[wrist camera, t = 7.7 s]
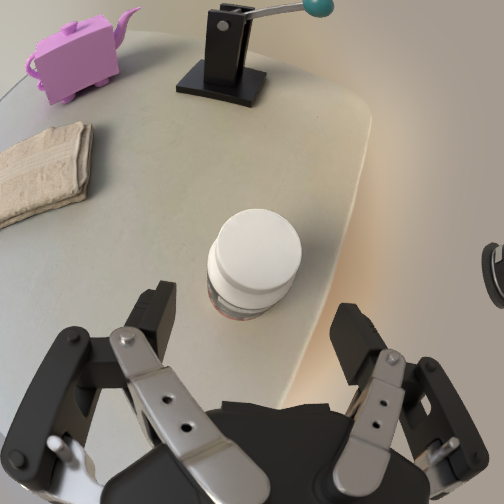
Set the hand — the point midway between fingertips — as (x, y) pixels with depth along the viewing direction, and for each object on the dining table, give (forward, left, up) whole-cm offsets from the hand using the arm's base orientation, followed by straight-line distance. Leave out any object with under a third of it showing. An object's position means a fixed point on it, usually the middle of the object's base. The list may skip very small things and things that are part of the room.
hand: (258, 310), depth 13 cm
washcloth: (+29, -7, -11) cm, 31 cm away
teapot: (+35, -28, -11) cm, 46 cm away
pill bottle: (+1, -3, -11) cm, 11 cm away
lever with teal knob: (+6, -31, +2) cm, 32 cm away
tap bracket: (+12, -31, -10) cm, 35 cm away
